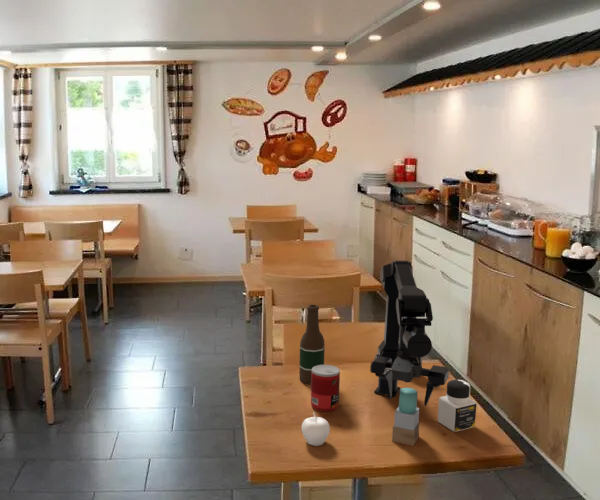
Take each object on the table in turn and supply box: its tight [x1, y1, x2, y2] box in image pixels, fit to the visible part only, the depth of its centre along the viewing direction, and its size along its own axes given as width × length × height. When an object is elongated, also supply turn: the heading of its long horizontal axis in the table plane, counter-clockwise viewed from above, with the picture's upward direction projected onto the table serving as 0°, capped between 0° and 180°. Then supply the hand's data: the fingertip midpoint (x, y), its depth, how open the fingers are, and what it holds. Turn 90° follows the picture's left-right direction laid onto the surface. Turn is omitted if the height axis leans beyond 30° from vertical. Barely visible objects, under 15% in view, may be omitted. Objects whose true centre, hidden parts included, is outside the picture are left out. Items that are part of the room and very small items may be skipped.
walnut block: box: [391, 422, 420, 447], centre depth 165 cm, size 6×6×4 cm
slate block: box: [393, 406, 420, 431], centre depth 164 cm, size 5×5×4 cm
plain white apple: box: [301, 411, 331, 447], centre depth 162 cm, size 7×7×8 cm
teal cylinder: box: [398, 387, 418, 414], centre depth 163 cm, size 4×4×5 cm
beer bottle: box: [298, 304, 326, 385], centre depth 201 cm, size 8×8×24 cm
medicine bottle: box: [437, 379, 477, 433], centre depth 173 cm, size 7×7×12 cm
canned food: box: [310, 364, 341, 412], centre depth 183 cm, size 8×8×11 cm
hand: (407, 402), depth 164 cm, fingers open, 9 cm apart
